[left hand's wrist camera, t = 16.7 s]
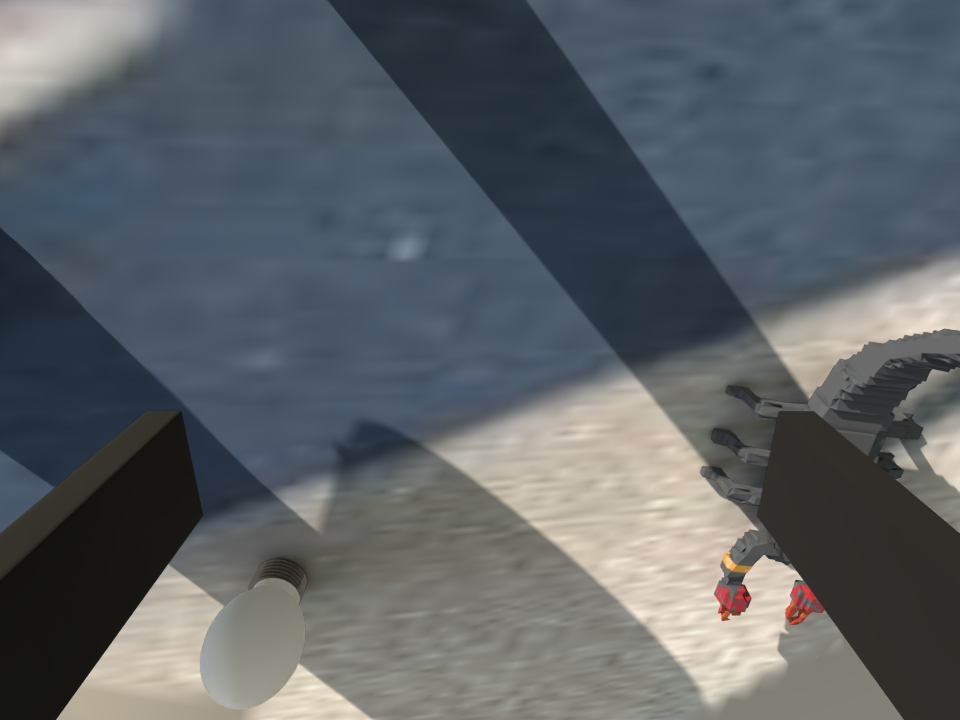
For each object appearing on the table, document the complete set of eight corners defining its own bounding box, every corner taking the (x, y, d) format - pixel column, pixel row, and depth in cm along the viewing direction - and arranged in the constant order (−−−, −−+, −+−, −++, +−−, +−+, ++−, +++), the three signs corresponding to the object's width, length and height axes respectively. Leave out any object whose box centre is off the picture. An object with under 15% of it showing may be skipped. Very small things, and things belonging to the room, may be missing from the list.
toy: (962, 288, 39) (1341, 411, 22) (821, 598, 48) (1007, 852, 31) (768, 260, 38) (1002, 365, 21) (664, 580, 48) (767, 830, 31)
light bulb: (227, 583, 48) (159, 706, 38) (269, 529, 46) (208, 643, 36) (298, 621, 49) (251, 749, 39) (341, 570, 47) (303, 692, 37)
